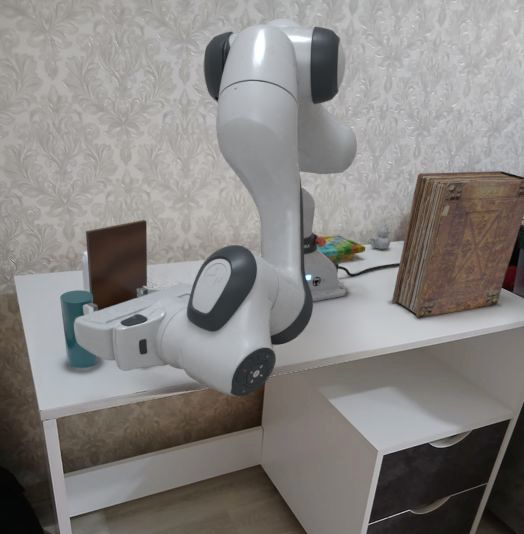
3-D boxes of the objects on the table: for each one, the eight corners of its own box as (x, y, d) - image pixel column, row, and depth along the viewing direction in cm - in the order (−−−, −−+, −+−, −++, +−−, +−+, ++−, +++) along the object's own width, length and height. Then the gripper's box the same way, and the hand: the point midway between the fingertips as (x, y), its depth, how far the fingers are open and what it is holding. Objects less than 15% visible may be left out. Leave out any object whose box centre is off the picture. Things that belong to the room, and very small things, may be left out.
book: (416, 318, 125) (447, 183, 110) (391, 302, 132) (417, 173, 118) (497, 304, 135) (534, 179, 121) (469, 290, 142) (502, 170, 128)
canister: (97, 355, 100) (92, 289, 94) (100, 370, 96) (94, 301, 90) (67, 358, 99) (59, 291, 93) (68, 373, 95) (60, 303, 88)
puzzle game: (284, 238, 154) (339, 232, 164) (282, 254, 156) (337, 247, 166) (308, 251, 146) (366, 244, 155) (306, 268, 148) (363, 259, 158)
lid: (146, 220, 105) (130, 213, 107) (88, 232, 96) (72, 224, 99) (147, 299, 113) (132, 290, 116) (93, 316, 104) (78, 306, 107)
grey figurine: (393, 251, 167) (398, 225, 163) (374, 252, 165) (378, 225, 161) (383, 245, 171) (388, 219, 167) (365, 246, 169) (369, 220, 165)
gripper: (227, 288, 81) (167, 264, 89) (107, 332, 68) (50, 298, 76) (227, 327, 84) (169, 299, 92) (112, 376, 71) (56, 339, 79)
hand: (114, 299), depth 84 cm, fingers open, 8 cm apart
